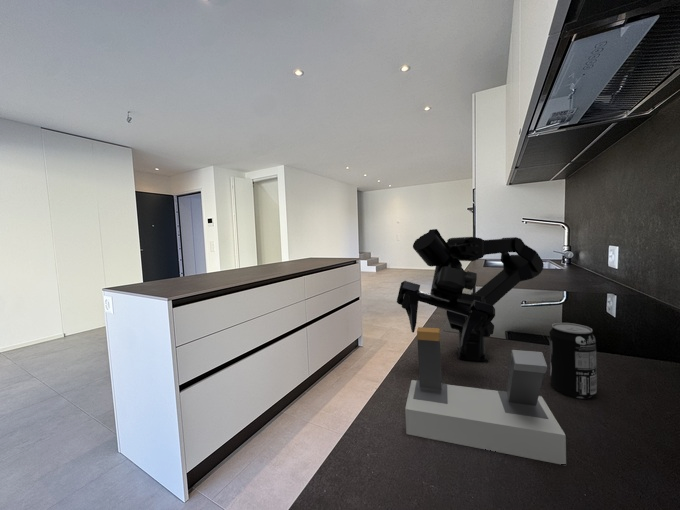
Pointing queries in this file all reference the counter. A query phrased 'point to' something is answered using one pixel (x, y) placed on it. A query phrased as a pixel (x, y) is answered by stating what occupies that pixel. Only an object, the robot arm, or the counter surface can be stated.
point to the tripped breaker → (429, 358)
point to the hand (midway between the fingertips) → (437, 339)
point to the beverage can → (573, 360)
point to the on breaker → (525, 377)
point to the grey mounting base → (485, 421)
